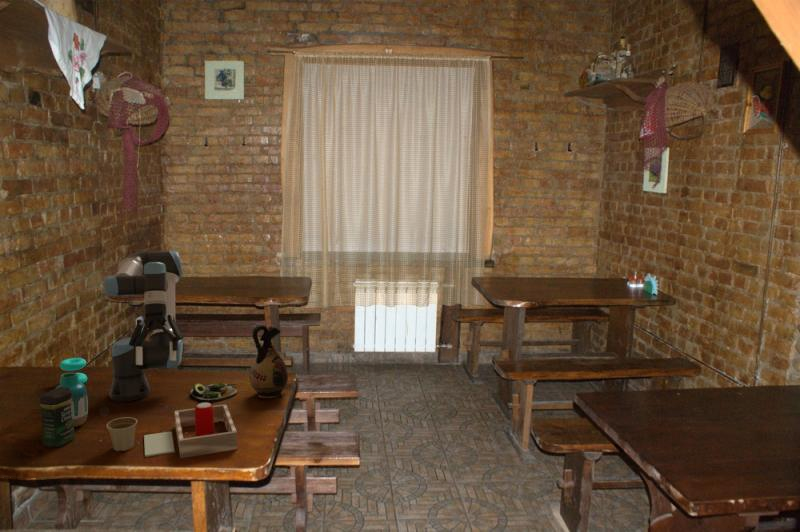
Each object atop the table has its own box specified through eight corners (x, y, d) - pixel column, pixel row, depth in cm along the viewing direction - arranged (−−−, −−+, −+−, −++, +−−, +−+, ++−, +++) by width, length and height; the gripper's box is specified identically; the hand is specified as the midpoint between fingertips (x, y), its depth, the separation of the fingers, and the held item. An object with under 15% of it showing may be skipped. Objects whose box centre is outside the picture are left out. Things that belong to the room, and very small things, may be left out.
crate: (175, 426, 223) (174, 410, 222) (226, 419, 230) (226, 404, 229) (180, 458, 199) (179, 440, 198) (237, 449, 206) (236, 432, 205)
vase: (55, 434, 215) (51, 381, 212) (56, 422, 224) (52, 372, 221) (89, 428, 220) (85, 377, 217) (88, 417, 229) (85, 368, 226)
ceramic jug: (274, 385, 266) (273, 317, 261) (295, 395, 255) (294, 324, 250) (239, 395, 254) (237, 324, 249) (259, 405, 243) (258, 332, 238)
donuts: (89, 361, 263) (63, 365, 256) (90, 383, 264) (65, 388, 258) (82, 355, 270) (56, 360, 263) (83, 377, 272) (58, 382, 265)
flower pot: (127, 455, 201) (125, 430, 199) (101, 452, 203) (99, 427, 201) (144, 442, 210) (143, 418, 208) (119, 439, 212) (118, 416, 210)
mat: (144, 436, 214) (144, 435, 214) (171, 432, 218) (171, 431, 218) (145, 457, 200) (144, 455, 200) (174, 452, 203) (174, 450, 203)
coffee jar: (58, 449, 204) (54, 396, 201) (38, 446, 206) (33, 393, 203) (79, 437, 213) (76, 386, 210) (60, 434, 215) (56, 383, 212)
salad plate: (226, 382, 269) (226, 372, 268) (247, 394, 256) (247, 383, 256) (184, 393, 256) (183, 382, 255) (204, 406, 243) (203, 395, 242)
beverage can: (214, 440, 213) (213, 407, 211) (195, 442, 211) (194, 409, 209) (214, 432, 218) (213, 400, 216) (196, 434, 217) (194, 402, 215)
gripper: (118, 307, 224) (118, 366, 219) (180, 298, 219) (181, 357, 214) (131, 310, 231) (132, 367, 227) (191, 301, 226) (193, 359, 222)
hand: (156, 362), depth 221 cm, fingers open, 13 cm apart
